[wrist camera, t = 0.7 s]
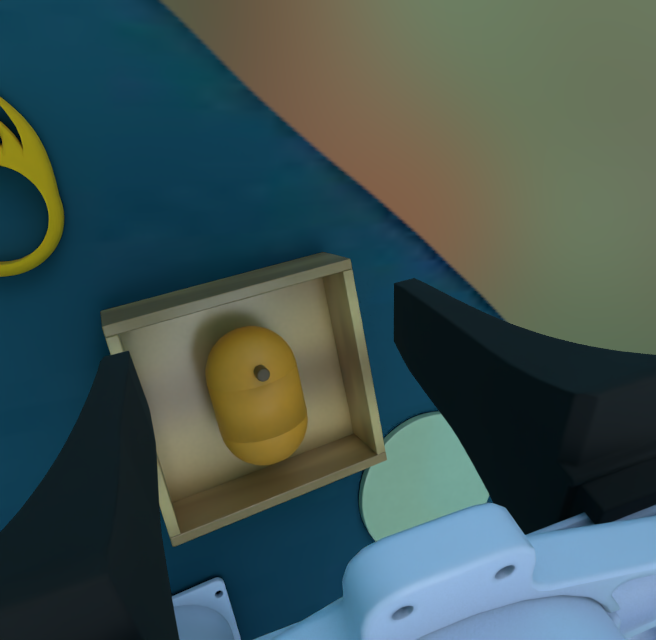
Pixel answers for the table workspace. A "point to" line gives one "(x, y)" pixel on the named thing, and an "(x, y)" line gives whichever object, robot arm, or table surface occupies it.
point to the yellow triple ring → (39, 171)
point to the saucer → (418, 478)
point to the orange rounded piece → (256, 395)
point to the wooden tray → (196, 406)
